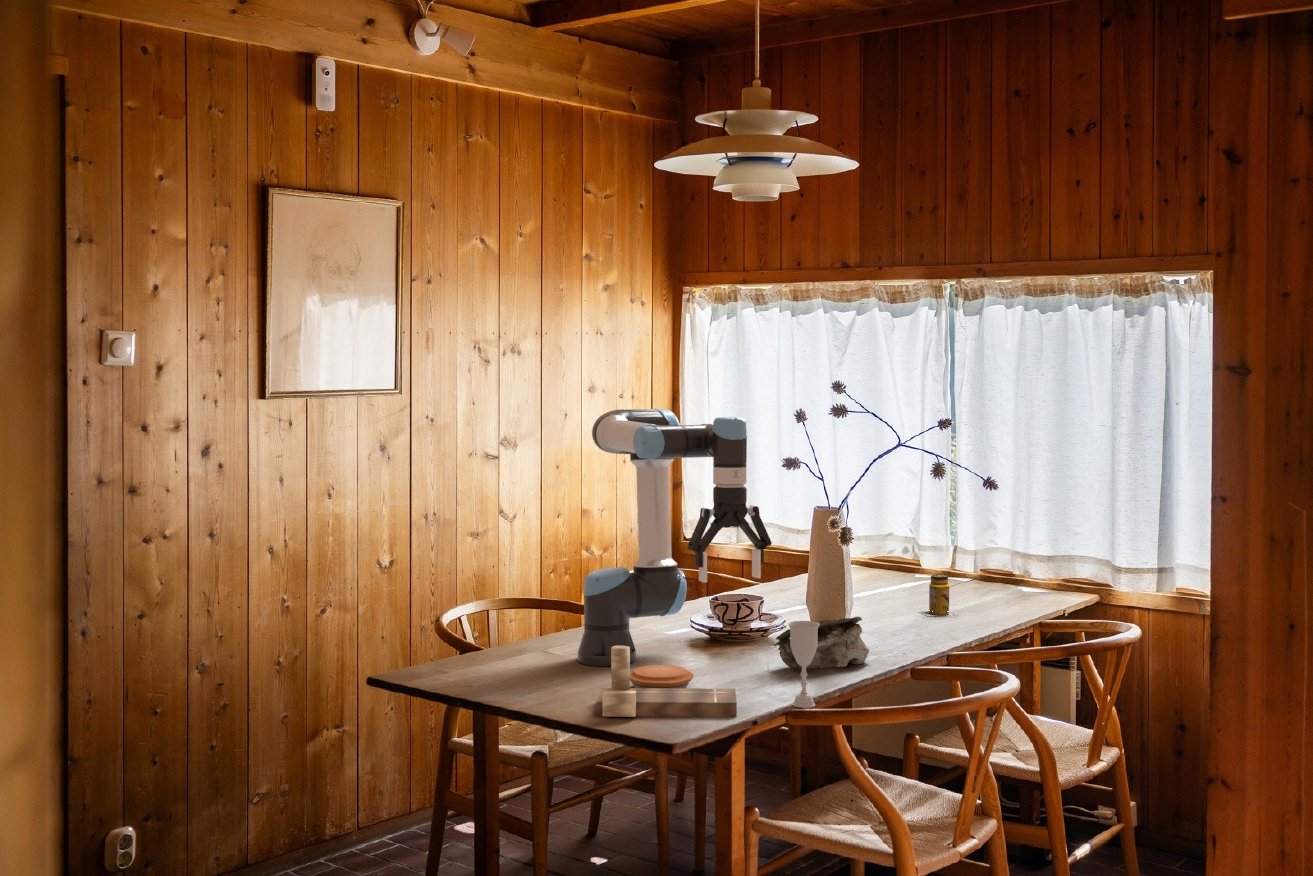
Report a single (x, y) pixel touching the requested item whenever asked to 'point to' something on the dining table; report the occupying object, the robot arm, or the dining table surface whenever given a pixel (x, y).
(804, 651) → the chalice
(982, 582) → the dining table surface
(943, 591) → the condiment
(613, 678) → the wooden handled tool
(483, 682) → the dining table surface
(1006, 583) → the dining table surface
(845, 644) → the hollow geode rock
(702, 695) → the board
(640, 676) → the pie
